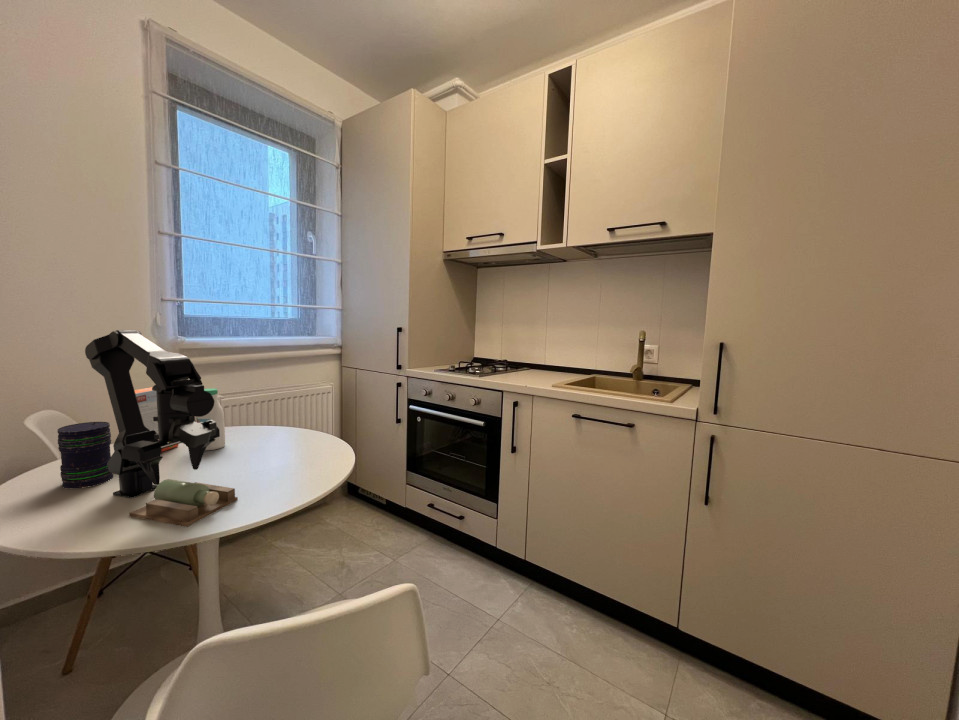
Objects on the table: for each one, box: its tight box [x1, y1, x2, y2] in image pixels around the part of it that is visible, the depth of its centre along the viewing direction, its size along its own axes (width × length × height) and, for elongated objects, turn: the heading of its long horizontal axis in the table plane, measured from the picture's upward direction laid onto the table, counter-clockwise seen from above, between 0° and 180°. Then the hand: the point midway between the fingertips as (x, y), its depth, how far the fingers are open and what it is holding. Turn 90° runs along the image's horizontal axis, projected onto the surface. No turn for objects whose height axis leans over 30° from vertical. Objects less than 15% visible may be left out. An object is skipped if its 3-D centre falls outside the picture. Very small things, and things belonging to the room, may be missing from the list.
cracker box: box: [134, 386, 179, 453], centre depth 125 cm, size 14×6×21 cm, turn 169°
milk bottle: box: [196, 387, 226, 451], centre depth 131 cm, size 8×8×20 cm
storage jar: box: [57, 421, 114, 489], centre depth 103 cm, size 10×10×15 cm
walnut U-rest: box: [129, 482, 238, 528], centre depth 91 cm, size 16×13×3 cm
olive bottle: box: [153, 478, 219, 508], centre depth 90 cm, size 5×5×14 cm
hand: (176, 476), depth 91 cm, fingers open, 9 cm apart
